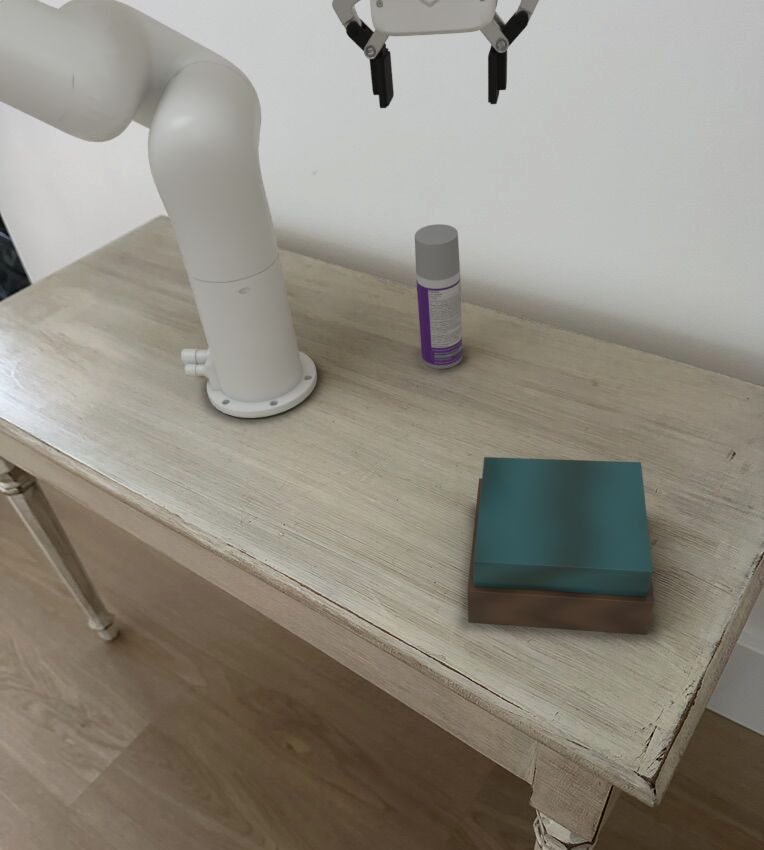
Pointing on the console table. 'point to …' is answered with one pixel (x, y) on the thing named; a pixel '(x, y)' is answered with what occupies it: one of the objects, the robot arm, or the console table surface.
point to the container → (439, 295)
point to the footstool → (561, 546)
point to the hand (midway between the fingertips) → (439, 100)
